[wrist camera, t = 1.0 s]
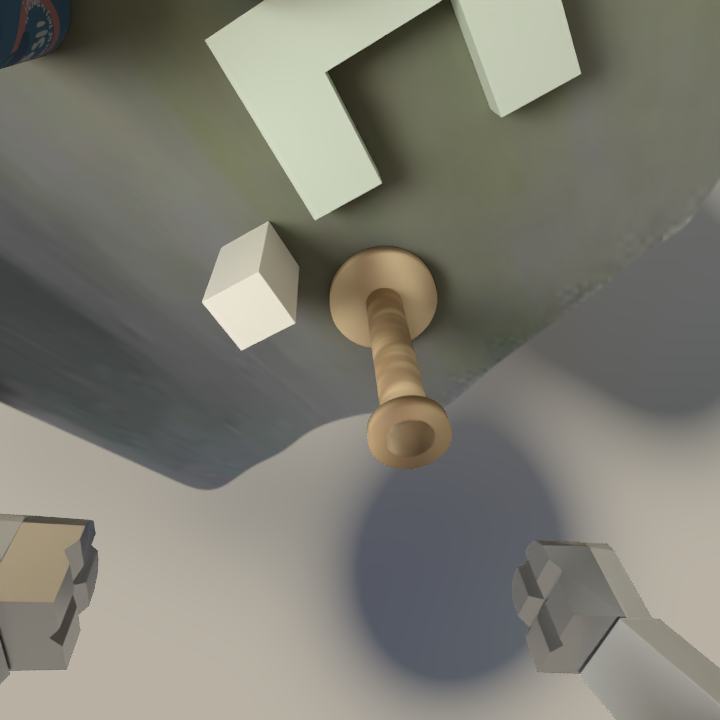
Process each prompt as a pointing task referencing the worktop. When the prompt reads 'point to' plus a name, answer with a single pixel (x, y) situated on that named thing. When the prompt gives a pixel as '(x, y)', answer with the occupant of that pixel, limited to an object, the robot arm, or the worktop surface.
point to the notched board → (347, 37)
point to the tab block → (253, 287)
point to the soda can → (31, 28)
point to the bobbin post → (393, 350)
